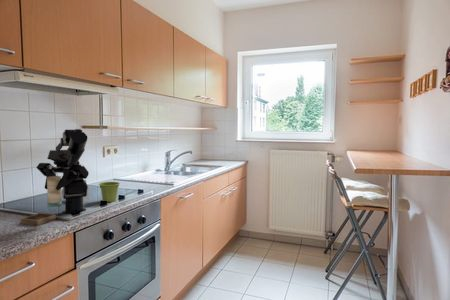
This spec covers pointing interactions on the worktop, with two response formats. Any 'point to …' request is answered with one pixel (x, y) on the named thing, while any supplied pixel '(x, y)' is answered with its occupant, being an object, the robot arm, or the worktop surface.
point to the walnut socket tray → (38, 219)
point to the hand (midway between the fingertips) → (51, 189)
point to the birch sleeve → (53, 192)
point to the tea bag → (87, 194)
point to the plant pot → (109, 191)
